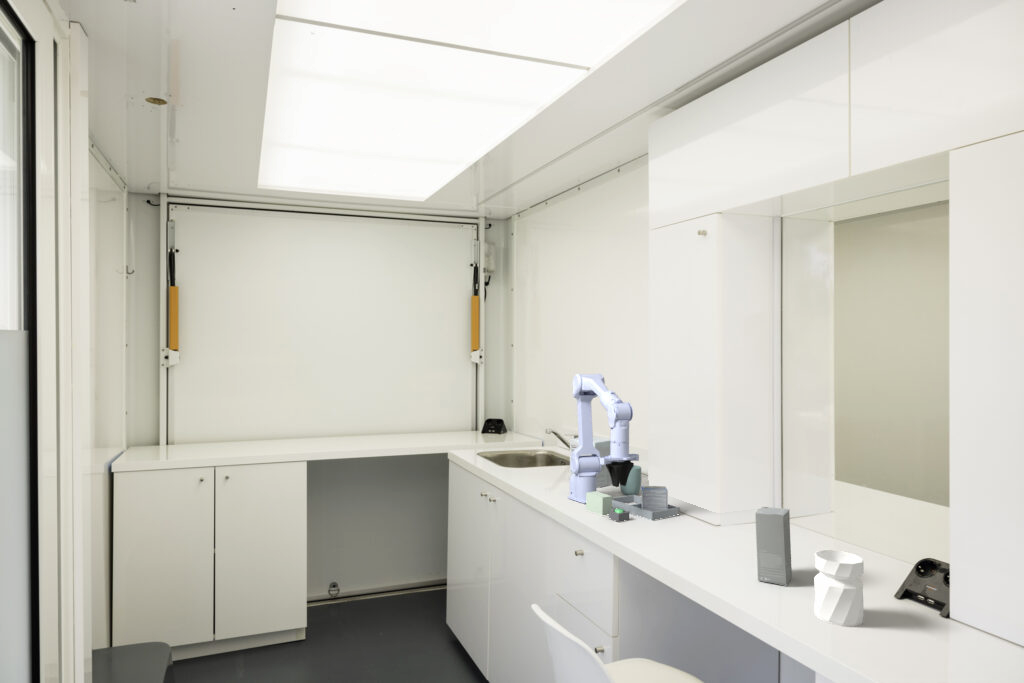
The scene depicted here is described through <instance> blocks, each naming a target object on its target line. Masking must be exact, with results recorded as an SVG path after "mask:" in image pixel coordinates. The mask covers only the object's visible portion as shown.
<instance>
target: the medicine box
mask: <svg viewBox="0 0 1024 683" xmlns="http://www.w3.org/2000/svg"><path fill="white" fill-rule="evenodd" d="M640 491H641V492H640V494H641V495H640V497H641V509H645V510H648V511H651V512H655V511H661V510H666V509H668V504H669V500H668V499H669V497H668V494H669V493H668V492H669V490H668V488H667V487H666V486H665V485H663V486H662V485H659V486H658V485H641V488H640Z"/></svg>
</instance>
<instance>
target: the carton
mask: <svg viewBox="0 0 1024 683" xmlns="http://www.w3.org/2000/svg"><path fill="white" fill-rule="evenodd" d="M612 498H613V496H612V495H610V494H606V493H602V492H599V491H597V490H596V491H594V492H588V493H586V503H585V511H586V510H589V511H591V512H595V513H597V514H601V515H607V514H609V511H611V510H613V508H612ZM591 512H590V513H591ZM597 514H596V515H597Z"/></svg>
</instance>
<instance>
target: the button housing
mask: <svg viewBox="0 0 1024 683" xmlns="http://www.w3.org/2000/svg"><path fill="white" fill-rule="evenodd" d="M609 518H611V519H613V520H612V521H614V520H616V521H615V522H617V521H622V522H625V521H624V520H627V521H630V513H629V512H628V511H625V510H623V513H617V512H615V509H612V510H611V511H609V515H608V519H609ZM611 519H610V520H611Z"/></svg>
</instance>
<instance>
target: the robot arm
mask: <svg viewBox="0 0 1024 683" xmlns="http://www.w3.org/2000/svg"><path fill="white" fill-rule="evenodd" d="M571 383H572V397H573V398H575V399H576V406H577V407H576V408H577V409H576V411H577V428H578V430H577V432H578V433H577V434H578V436H577V437H578V438H579V446H578V447H577V448H576V449H575V450H574V451H573V452H572V454H571V463H570V462H569V466H570V465H571V470H572V472H573V473H574V474H572V476H571V478H570V477H569V496H567V499H569V500H572V501H575V502H578V503H581V504H586V493H588V492H594V491H596V492H597V488H596V475H598V473H599V472H600V471H601V469H602V464H603V465H606V467H607V469H608V471H609V473H610V476H611V480H612V484H613V485H612V486H613V487H616V488H620V485H623V486H626V484H627V480H628V476H629V474H630V471H631V469H632V468H633V466H634V465H635V463H634V461H636V462H639V460H640V455H639V453H638V454H637V453H630V422H631V421H632V420H633V416H634V409H633V406H632V405H631V403H630V402H627V401H624V402H623V400H622V399H621V398H620V397H619V395H618V394H617V393H616V391H614V390H609V388H608V387H607V386H606V385H605V384H606V380H605V377H604V376H603V374H602V373H585V374H584V373H582V374H581V373H576V374H575V375H574V376H573V379H572V382H571ZM597 397H599V403H600V405H601V406H602V407H603V409H605V411H606V415H607V419H608V427H609V428H610V438H609V439H610V455H609V456H605V457H600V452H599V451H598V450H597V449H596V448H594V447H593V417H592V416H593V415H592V413H593V412H592V401H593V399H594V398H597ZM583 454H591V455H589V456H580V455H583Z"/></svg>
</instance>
